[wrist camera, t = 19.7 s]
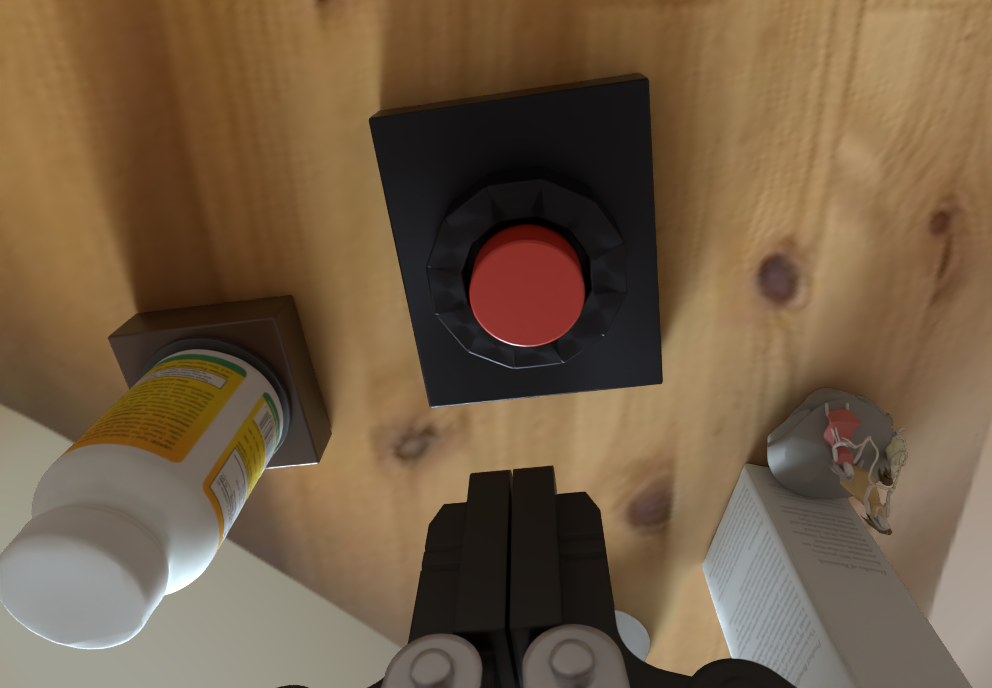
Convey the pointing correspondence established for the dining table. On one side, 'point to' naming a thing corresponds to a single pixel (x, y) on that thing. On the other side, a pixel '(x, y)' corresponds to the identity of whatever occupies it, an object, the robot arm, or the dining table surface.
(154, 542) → the supplement bottle
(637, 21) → the dining table surface
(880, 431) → the figurine
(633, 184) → the button housing
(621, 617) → the chalice
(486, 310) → the button
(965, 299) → the dining table surface
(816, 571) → the cosmetic box
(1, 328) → the dining table surface
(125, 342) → the stand
